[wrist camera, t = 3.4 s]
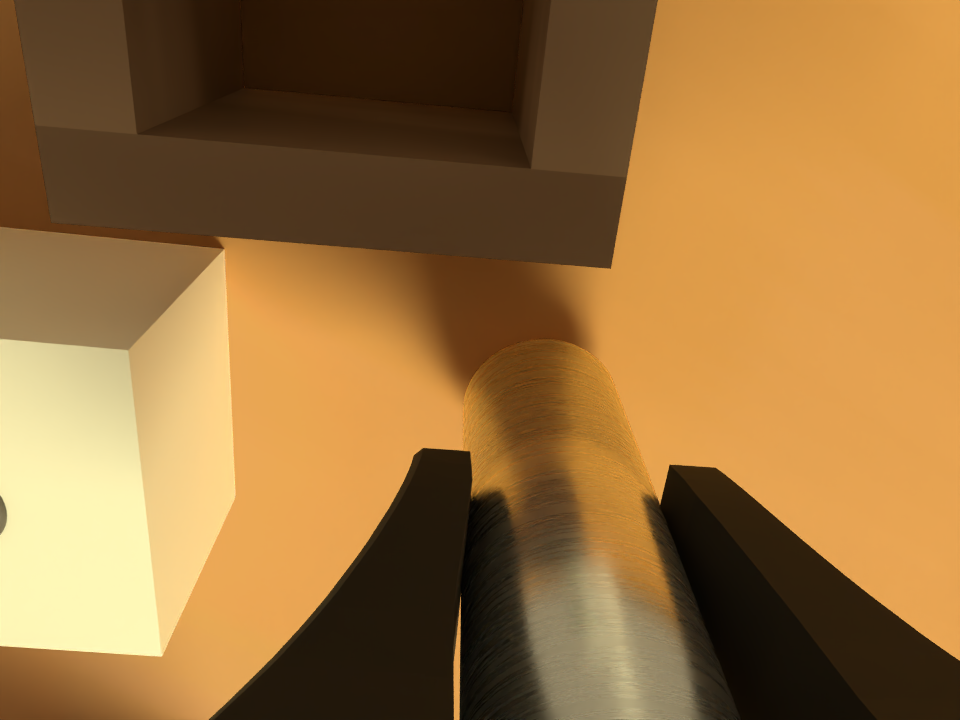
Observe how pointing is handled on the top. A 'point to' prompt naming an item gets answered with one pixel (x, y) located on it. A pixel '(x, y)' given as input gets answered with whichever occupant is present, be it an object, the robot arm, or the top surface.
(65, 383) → the small block
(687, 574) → the robot arm
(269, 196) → the hollow square frame
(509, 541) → the cylinder
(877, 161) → the top surface
